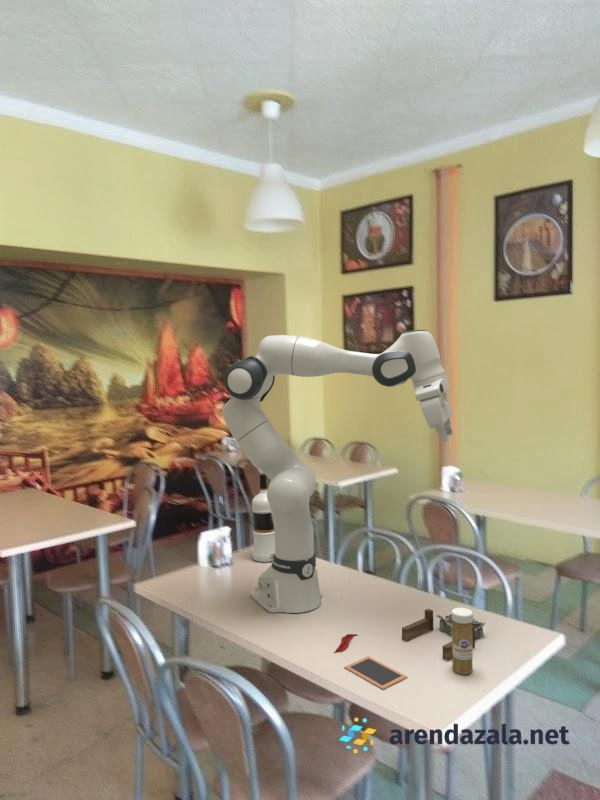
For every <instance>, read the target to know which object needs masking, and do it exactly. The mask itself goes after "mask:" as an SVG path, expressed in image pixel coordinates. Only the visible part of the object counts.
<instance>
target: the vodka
mask: <svg viewBox="0 0 600 800" xmlns="http://www.w3.org/2000/svg"><path fill="white" fill-rule="evenodd" d="M267 491H268V477H267V476H266V475H265V474H264V473H260V474H259V493H257V494H256V495H255V496H254V497H253V498H252V500H251V507H252V509H251V510H252V526H253V529H252V534H253V547H252V554H251V557H252V559H253V560H254V561H255V562H257V561H258V563H272V562H271V561H273V558H271V559H270V557H272V556H274V555H272V554H275V534H274V524H273V519H272V514H271V508H270V504H269V502H268V499H267ZM270 555H272V556H270Z"/></svg>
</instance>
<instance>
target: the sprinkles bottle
mask: <svg viewBox="0 0 600 800" xmlns="http://www.w3.org/2000/svg"><path fill="white" fill-rule="evenodd" d="M451 614H452V615H451V618H452V636H451V642H452V655H453V659H452V665H451V670H452V671H453V672H454V673H456V674H459V675H462V676H463V675H465V676H466V675H470V674H472V672H473V671H474V669H473V656H474V655H473V654H474V653H473V652H474V651H473V649H474V648H473V634H472V621H473V618H474V613H473V611H472V610H470V608H466V607H454V608H452V610H451Z"/></svg>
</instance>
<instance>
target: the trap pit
mask: <svg viewBox="0 0 600 800" xmlns="http://www.w3.org/2000/svg"><path fill="white" fill-rule="evenodd" d="M344 669H345V670H347V671H349V672H350V673H352V674H354V675H356V676H358V677H359V678H361V679H363V680H365V681H366V682H367V683H370V684H372V685H373V686H375V687H377V688H379V689H380V690H382V691H384V690H386V689H388V688H390V687H392V686H394V685H396V684H399V683H400V682H402V681H405V680H406V679H407V678H408V675H405V674H403V673H401V672H400V671H398V670H396V669H394V668H392V667H390V666H388V665H387V664H385V663H382V662H381V661H378V660H377V659H376V658H373V657H372V656H369V655H368V656H366V657H364V658H361V659H358V660H357V661H354V662H352V663H349V664H347V665H346V666H344Z"/></svg>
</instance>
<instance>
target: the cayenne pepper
mask: <svg viewBox="0 0 600 800" xmlns="http://www.w3.org/2000/svg"><path fill="white" fill-rule="evenodd" d="M357 635H358V634H353V633H350V634H349V633H348V634H346V635H344V636H342V637H341V638H340V639H341V641H340V644H339V645H338V647H337V648H336V649H335V651H334V652H333V654H336V653H343V652H345V651H347V650H348V648H349V647H350V646H349V645H350V643H351V640H353V639H354V638H355V637H357Z"/></svg>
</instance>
